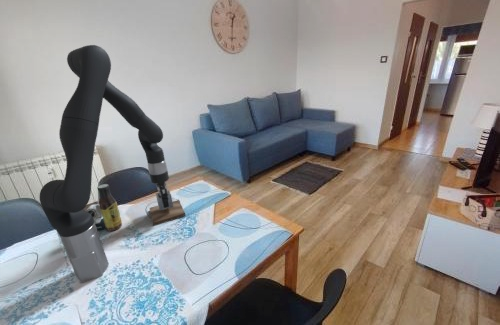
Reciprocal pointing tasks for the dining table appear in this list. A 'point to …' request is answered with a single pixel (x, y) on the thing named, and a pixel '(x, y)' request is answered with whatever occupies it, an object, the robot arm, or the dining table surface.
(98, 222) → the watch
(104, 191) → the sauce bottle
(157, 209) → the post board
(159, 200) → the grey hollow cube
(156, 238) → the dining table surface
